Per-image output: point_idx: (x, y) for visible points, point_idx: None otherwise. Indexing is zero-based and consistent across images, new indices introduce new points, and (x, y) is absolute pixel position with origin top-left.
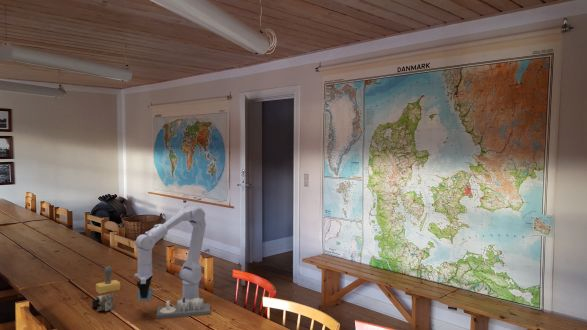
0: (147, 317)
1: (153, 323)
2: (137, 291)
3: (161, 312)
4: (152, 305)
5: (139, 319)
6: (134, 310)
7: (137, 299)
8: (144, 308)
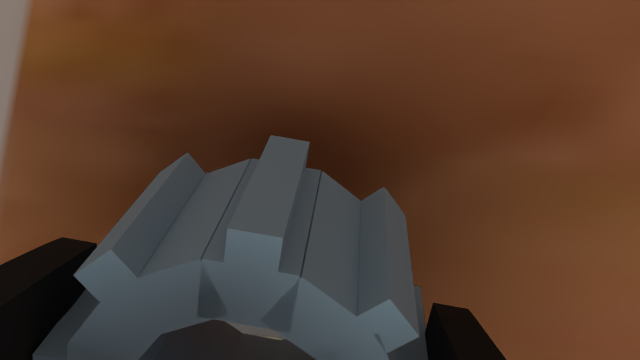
0: None
1: (22, 213)
2: (229, 227)
3: None
4: (633, 274)
5: (188, 70)
6: (569, 27)
7: (273, 136)
8: (575, 169)
